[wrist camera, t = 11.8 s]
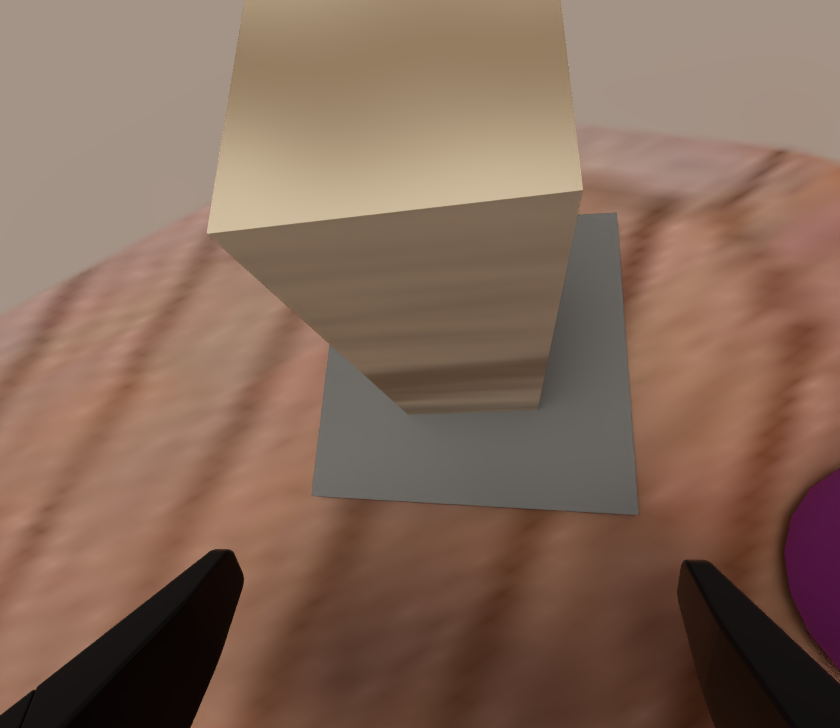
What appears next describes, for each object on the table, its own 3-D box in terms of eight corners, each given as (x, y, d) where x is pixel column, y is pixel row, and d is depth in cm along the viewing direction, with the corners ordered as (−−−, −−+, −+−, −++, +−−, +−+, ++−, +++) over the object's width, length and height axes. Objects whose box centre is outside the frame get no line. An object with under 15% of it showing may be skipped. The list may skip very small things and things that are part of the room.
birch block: (537, 410, 18) (582, 189, 6) (408, 414, 19) (206, 233, 7) (528, 290, 19) (549, -89, 7) (409, 300, 20) (247, -22, 8)
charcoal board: (612, 223, 20) (616, 212, 20) (633, 515, 17) (638, 515, 16) (348, 238, 23) (343, 229, 22) (319, 496, 19) (311, 495, 18)
